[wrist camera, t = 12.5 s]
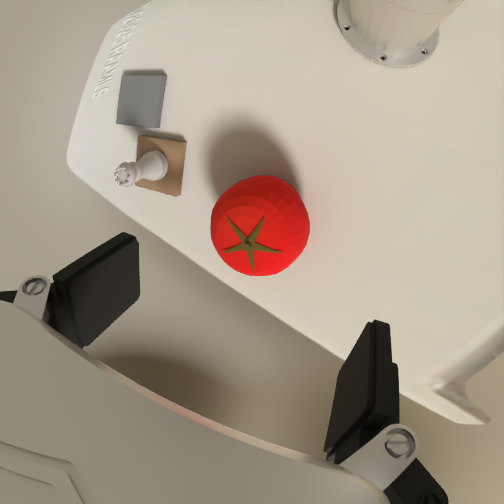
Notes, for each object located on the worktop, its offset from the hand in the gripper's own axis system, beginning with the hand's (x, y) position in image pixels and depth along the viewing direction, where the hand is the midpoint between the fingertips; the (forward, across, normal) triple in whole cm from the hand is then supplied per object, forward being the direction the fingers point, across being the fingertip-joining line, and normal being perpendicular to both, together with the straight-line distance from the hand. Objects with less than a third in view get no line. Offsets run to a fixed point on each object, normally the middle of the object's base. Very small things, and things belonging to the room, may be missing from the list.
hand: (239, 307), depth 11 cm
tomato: (+28, +5, +7) cm, 30 cm away
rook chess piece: (+27, +23, +4) cm, 36 cm away
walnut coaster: (+28, +23, +4) cm, 37 cm away
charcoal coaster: (+28, +28, -5) cm, 40 cm away
